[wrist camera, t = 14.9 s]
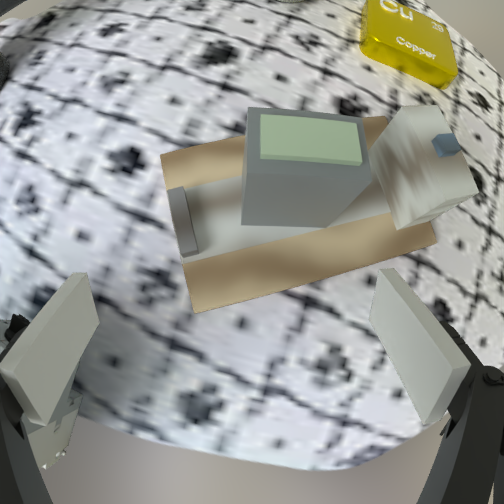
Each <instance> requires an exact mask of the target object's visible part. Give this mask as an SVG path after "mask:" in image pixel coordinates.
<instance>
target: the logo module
mask: <svg viewBox="0 0 504 504" xmlns="http://www.w3.org/2000/svg"><path fill="white" fill-rule="evenodd" d="M371 182H372V177H371V169H370V163H369V156H368V150H367V144H366V138H365V132H364V126H363V121H362V118H359V117H352V116H345V115H337V114H329V113H321V112H311V111H301V110H289V109H275V108H257V107H248V112H247V123H246V134H245V146H244V157H243V169H242V196H241V225H247V226H283V227H313V228H327V227H328V226H329V225H330V224H331V223H332V222H333V221H334V220H335V219H336V218H337V217H338V216H339V215H340V214H341V213H342V212H343V211H344V210H345V208H346V207H347V206H348V205H349V204H350V203H351V202H352V201H353V200H354V199H355V198H356V197H357V196H358V195H359V194H360V193H361V192H362V191H363V190H364V189H365V188H366V187H367V186H368V185H369V184H370V183H371Z"/></svg>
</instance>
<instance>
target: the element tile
mask: <svg viewBox="0 0 504 504" xmlns="http://www.w3.org/2000/svg"><path fill="white" fill-rule="evenodd" d="M359 47H360V50H361V52H362V53H363V54H364V55H365V56H367V57H369V58H371V59H373V60H375V61H378V62H380V63H383V64H385V65H388V66H390V67H393V68H395V69H397V70H400V71H402V72H404V73H407V74H409V75H411V76H413V77H415V78H418V79H420V80H422V81H424V82H426V83H428V84H430V85H432V86H434V87H436V88H439V89H443V90H444V89H446V88H447V87H448V86H449V84H450V83H451V82H452V81H453V80H454V79H455V77H456V76H457V74H458V68H457V63H456V59H455V55H454V51H453V47H452V43H451V39H450V36H449V32H448V31H447V29H446V27H445V26H444V25H442V24H441V23H439V22H437V21H435V20H433V19H431V18H429V17H427V16H425V15H423V14H421V13H419V12H417V11H415V10H413V9H410V8H408V7H406V6H404V5H401V4H399V3H397V2H394V1H392V0H366V2H365V5H364V7H363V10H362V15H361V30H360V43H359Z"/></svg>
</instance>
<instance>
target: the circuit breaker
mask: <svg viewBox="0 0 504 504" xmlns="http://www.w3.org/2000/svg"><path fill="white" fill-rule="evenodd" d="M29 324H30V322H29V320H27V319H26V318H25V317H23V316H22V315H20V314H19V316H18V315H15V314H13V315H12V319H11V321H10V320H0V354H1V352H2V351H3V350H4V349H5V347H6V346H7V345H8V343H10V341H11V339H12V338H13V337H14V335H15V334H16V333H17V332H18V331H20V330H21V329H23V328H24V327H25V326H29ZM79 363H80V361H78V363H77V365H76V367H75V369H74V371H73V373H72V375H71V377H70V379H69V381H68V383H67V385H66V387H65V389H64V391H63V393H62V395H61V397H60V399H59V401H58V403H57V405H56V407H55V409H54V411H53V413H52V415H51V418H50V420H49V422H48V424H47V426H43V425H39V424H35V423H32V422H30V420H29V419H28V417H27V416H26V414H25V413H24V412H23V414H22V416H21V418H20V419H21V420H22V422H23V423H24V426H25V429H26V433H27V436H28V439H29V442H30V445H31V448H32V451H33V454H34V457H35V460H36V463H37V466H38V468H41V467H43V468H45V469H47V468H48V467H50V466H51V465H53V464H54V463H55V462H57V461H58V460H59V459H60V455H61V454H62V455H66V451H64V448H66V447H67V446H68V444H69V440H70V437H71V433H72V430H73V426H74V423H75V420H76V417H77V413H78V410H79V407H80V404H81V401H82V397H83V395H82V394H80V393H79V392H77V391H75V390H74V389H72V388H71V387H72V384H73V381H74V378H75V375H76V372H77V369H78V366H79Z"/></svg>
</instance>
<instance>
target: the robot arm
mask: <svg viewBox="0 0 504 504" xmlns="http://www.w3.org/2000/svg"><path fill="white" fill-rule="evenodd" d="M24 1H27V0H0V17H1V16H2V15H4V14H5V13H7V12H8V11H10V10H11V9H13V8H14V7H16V6H18V5H19V4H21V3H23V2H24ZM8 71H9V63H8V61H7V59H6V58H5V56H4V55H3V54H2V53H1V52H0V89H1V87H2V85H3V84H4V82H5V80H6V77H7V74H8ZM369 321H370V323H371V325H372V326H373V328H374V330H375V332H376V334H377V335H378V337H379V339H380V341H381V343H382V345H383V346H384V348H385V350H386V352H387V354H388V356H389V358H390V360H391V362H392V363H393V365H394V367H395V369H396V371H397V373H398V375H399V377H400V379H401V381H402V383H403V385H404V387H405V389H406V391H407V393H408V395H409V397H410V399H411V401H412V403H413V405H414V407H415V409H416V411H417V413H418V415H419V417H420V419H421V421H422V423H423V425H425V424H429V423H433V422H436V421H440V420H441V419H442V417H443V415H444V414H445V412H446V410H448V412H449V413H450V415H451V418H450V419H449V421H448V422H447V424H446V425H445V427H444V429H443V430H442V432H441V433H440V435H441V436H442V435H443V434H444V436H443V438H442V441H441V444H440V447H439V450H438V453H437V456H436V459H435V461H434V464H433V466H432V469H431V471H430V474H429V476H428V479H427V481H426V484H425V486H424V488H423V491H422V493H421V495H420V497H419V499H418V502H417V504H488V501H489V497H490V494H491V489H492V486H493V482H494V494H493V504H504V373H502V372H501V371H500V370H499V369H497V368H495V367H493V366H483V364H482V363H481V362H480V360H479V359H478V358H477V357H476V355H475V354H474V353H473V351H472V350H471V349H470V348H469V346H468V345H467V344H465V341H464V340H463V339H462V337H461V338H460V335H459V334H458V332H457V331H456V330H455V329H454V328H453V327H452V326H450V325H449V324H448V323H446V322H445V321H440V322H438V320H437V319H436V318H435V317H434V315H433V314H432V313H431V312H430V310H429V309H428V308H427V307H426V306H425V304H424V303H423V302H422V301H421V300H420V298H419V297H418V296H417V295H416V294H415V292H414V291H413V290H412V289H411V288H410V286H409V285H408V284H407V283H406V282H405V281H404V279H403V278H402V277H401V276H400V275H399V274H398V273H397V271H396V270H395V269H394V268H391V269H379V272H378V277H377V283H376V288H375V293H374V298H373V303H372V307H371V312H370V316H369ZM99 323H100V322H99V318H98V315H97V311H96V308H95V304H94V300H93V296H92V292H91V288H90V284H89V280H88V276H87V273H72V274H71V276H70V277H69V278H68V279H67V280H66V281H65V282H64V283H63V285H62V286H61V287H60V288H59V289H58V290H57V292H56V293H55V294H54V295H53V296H52V297H51V299H50V300H49V301H48V302H47V303H46V305H45V306H44V307H43V308H42V309H41V311H40V312H39V313H38V314H37V316H36V317H35V318H34V319H33V321H32V322H31V323H30V324H29V326H25V327H24V328H23V329H21V330H20V331H18V332H17V333H16V334H15V335H14V337H13V338H12V339H11V341H10V343H8V345H7V346H6V347H5V349H4V350H3V351H2V352H1V354H0V504H53V502H52V500H51V498H50V496H49V493H48V491H47V489H46V486H45V484H44V481H43V479H42V476H41V474H40V471H39V468H38V466H37V463H36V460H35V457H34V454H33V451H32V448H31V445H30V442H29V439H28V436H27V433H26V429H25V426H24V423H23V422H22V420H21V419H20V418H21V416H22V414H23V412H24V413H25V414H26V416H27V417H28V419H29V420H30V422H32V423H35V424H39V425H43V426H47V424H48V422H49V420H50V418H51V415H52V413H53V411H54V409H55V407H56V405H57V403H58V401H59V399H60V397H61V395H62V393H63V391H64V389H65V387H66V385H67V383H68V381H69V379H70V377H71V375H72V373H73V371H74V369H75V367H76V365H77V363H78V361H79V359H80V358H81V356H82V354H83V352H84V350H85V348H86V346H87V345H88V343H89V341H90V339H91V337H92V336H93V334H94V332H95V330H96V328H97V327H98V325H99Z"/></svg>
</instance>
